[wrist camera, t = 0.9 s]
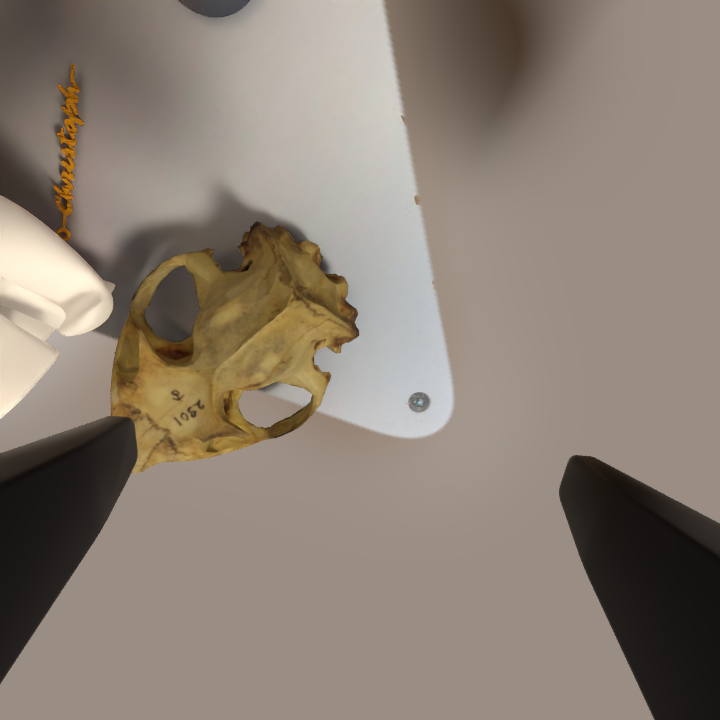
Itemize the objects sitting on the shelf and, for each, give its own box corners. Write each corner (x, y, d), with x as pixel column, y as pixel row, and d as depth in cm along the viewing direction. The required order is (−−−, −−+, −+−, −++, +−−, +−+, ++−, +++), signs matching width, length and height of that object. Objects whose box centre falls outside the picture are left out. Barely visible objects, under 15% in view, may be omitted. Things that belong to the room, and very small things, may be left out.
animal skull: (139, 406, 28) (56, 469, 22) (206, 175, 21) (116, 173, 15) (281, 478, 28) (239, 560, 22) (389, 272, 22) (371, 308, 16)
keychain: (79, 242, 22) (61, 243, 21) (62, 236, 22) (44, 236, 21) (91, 70, 19) (72, 62, 18) (72, 64, 19) (52, 56, 18)
